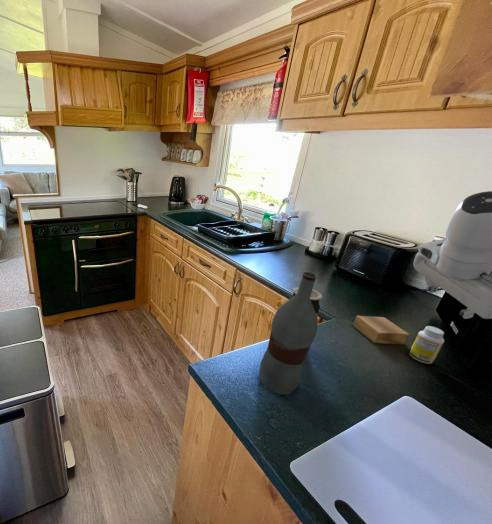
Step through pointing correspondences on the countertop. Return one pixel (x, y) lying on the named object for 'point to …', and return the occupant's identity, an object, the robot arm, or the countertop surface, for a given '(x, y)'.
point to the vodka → (290, 340)
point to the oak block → (380, 330)
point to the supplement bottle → (427, 345)
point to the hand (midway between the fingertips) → (447, 302)
